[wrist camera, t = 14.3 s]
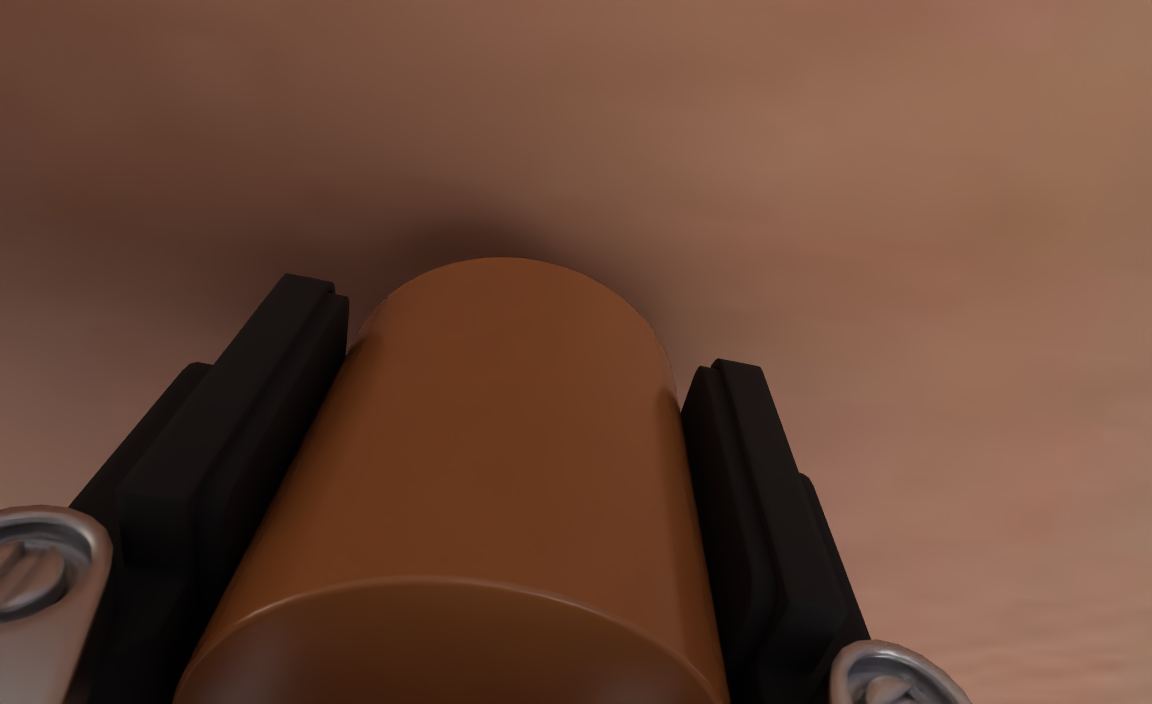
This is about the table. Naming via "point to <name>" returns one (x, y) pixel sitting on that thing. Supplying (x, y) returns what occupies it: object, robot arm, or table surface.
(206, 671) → the orange cylinder
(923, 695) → the robot arm
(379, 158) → the table surface
